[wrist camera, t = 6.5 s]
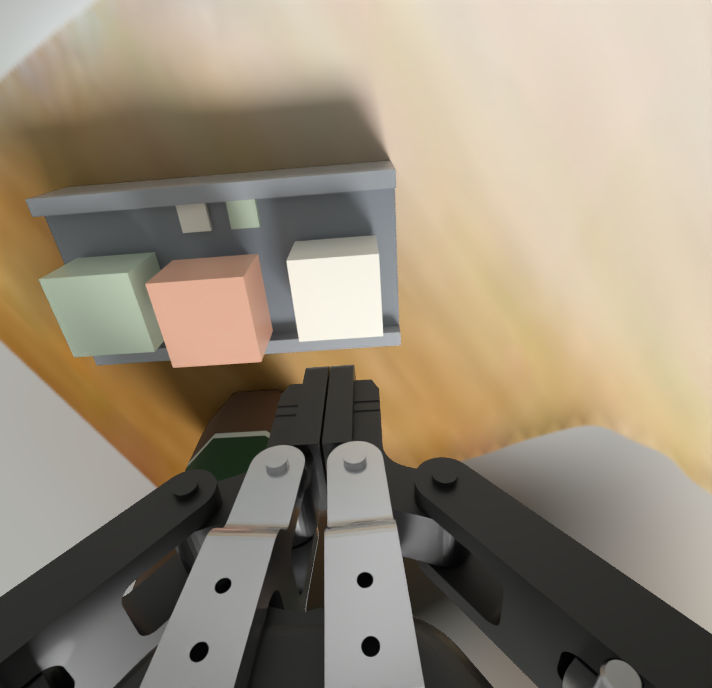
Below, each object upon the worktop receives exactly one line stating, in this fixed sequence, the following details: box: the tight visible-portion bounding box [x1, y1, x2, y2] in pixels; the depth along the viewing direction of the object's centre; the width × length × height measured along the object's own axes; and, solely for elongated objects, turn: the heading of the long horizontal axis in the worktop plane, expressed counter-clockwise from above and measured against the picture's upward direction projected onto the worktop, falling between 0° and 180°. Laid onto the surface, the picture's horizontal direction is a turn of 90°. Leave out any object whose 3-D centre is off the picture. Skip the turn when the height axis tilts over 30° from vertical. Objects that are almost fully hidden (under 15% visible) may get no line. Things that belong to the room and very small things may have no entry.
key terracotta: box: [145, 254, 273, 368], centre depth 20 cm, size 4×4×3 cm
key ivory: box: [286, 235, 383, 342], centre depth 21 cm, size 4×4×3 cm
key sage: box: [39, 252, 164, 357], centre depth 21 cm, size 4×4×3 cm
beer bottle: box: [133, 390, 282, 589], centre depth 20 cm, size 8×8×24 cm
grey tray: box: [25, 160, 401, 365], centre depth 23 cm, size 17×9×5 cm, turn 94°
